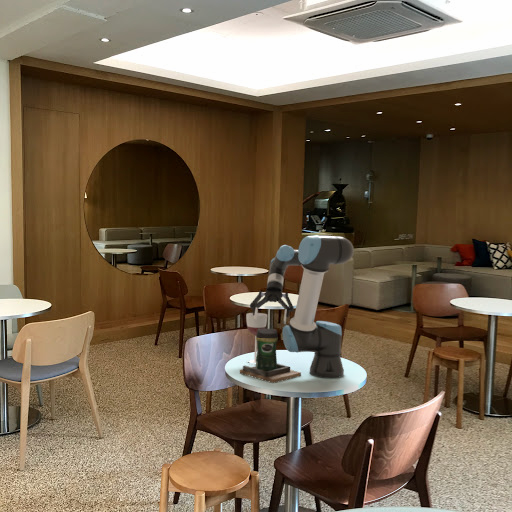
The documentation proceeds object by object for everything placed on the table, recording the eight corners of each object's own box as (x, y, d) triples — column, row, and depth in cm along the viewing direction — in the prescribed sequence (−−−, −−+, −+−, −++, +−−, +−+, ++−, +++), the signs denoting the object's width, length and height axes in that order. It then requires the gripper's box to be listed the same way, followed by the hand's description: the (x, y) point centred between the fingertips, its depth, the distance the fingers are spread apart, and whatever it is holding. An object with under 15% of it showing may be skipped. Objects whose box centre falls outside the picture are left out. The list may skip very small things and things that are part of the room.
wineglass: (265, 364, 266) (267, 316, 265) (244, 363, 266) (246, 315, 265) (265, 360, 275) (267, 313, 274) (245, 359, 275) (246, 312, 274)
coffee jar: (276, 368, 254) (277, 327, 253) (277, 373, 246) (279, 330, 245) (254, 367, 253) (256, 326, 252) (255, 372, 245) (256, 330, 244)
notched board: (300, 375, 248) (301, 368, 248) (273, 383, 235) (273, 374, 235) (267, 366, 262) (267, 359, 262) (239, 373, 249) (240, 365, 249)
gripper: (301, 291, 271) (297, 328, 256) (249, 288, 274) (243, 324, 260) (300, 281, 265) (296, 318, 251) (248, 278, 269) (241, 314, 255)
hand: (269, 321), depth 256 cm, fingers open, 13 cm apart
